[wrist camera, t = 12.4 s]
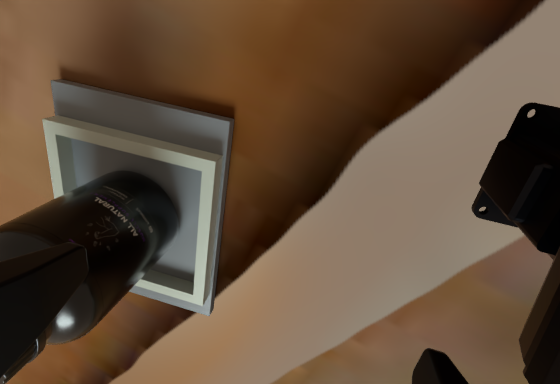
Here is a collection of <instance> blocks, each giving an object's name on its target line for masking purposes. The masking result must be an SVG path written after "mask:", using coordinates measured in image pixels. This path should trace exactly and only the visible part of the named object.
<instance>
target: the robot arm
mask: <svg viewBox="0 0 560 384" xmlns="http://www.w3.org/2000/svg"><path fill="white" fill-rule="evenodd" d="M532 109H535V111H536V112H535V115H534V116H532V117H530V118H528V117H527V114H528V112H529V111H530V110H532ZM479 184H480V186H481V189H480V191H479V193H478V195H477V197H476V199H475V201H474V203H473V205H472V211H473V213H474V214H475V215H476V217H478V218H481V219H485V220H489V221H494V222H498V223H502V224H506V225H510V226H514V227H518V228H519V229H520V230H521V231H522V232H523V233H524V234H525V236H526V237H527V238H528V239H529V240H530V241H531V242H532V244H533V245H534V246H535V247H536V248H537V249H538V250H539V251H541V252H544V253H548V254H549V255H550V257H551V258H552V259H553V263H552V265H551V267H550V269H549V272H548V274H547V276H546V278H545V281H544V283H543V285H542V287H541V290H540V292H539V294H538V296H537V299H536V301H535V303H534V305H533V307H532V310H531V312H530V314H529V316H528V319H527V321H526V323H525V325H524V328H523V331H522V333H521V336H520V338H519V343H520V347H521V352H522V357H523V361H524V363H525V365H526V366H525V368H524V370H523V374H524V376H525V378H526V379H527V381H528V383H529V384H560V108H558V107H553V106H548V105H543V104H538V103H528V104H525V105H524V106H523V107H521V109H520V110H519V112H518V114H517V116H516V118H515V120H514V122H513V124H512V126H511V128H510V130H509V132H508V134H507V136H506V138H505V139H503V140H501V141H500V142H499V143H498V145H497V147H496V149H495V151H494V153H493V155H492V157H491V160H490V161H489V164H488V166H487V168H486V170H485V172H484V174H483V176H482V178H481V180H480V182H479ZM481 207H486V209H485V210H484V211H479V209H480V208H481ZM87 273H88V262H87V253H86V249H85V247H84V246H82V245H79V244H76V243H72V242H67V243H64V244H60V245H57V246H53V247H50V248H46V249H43V250H40V251H36V252H33V253H29V254H26V255H22V256H19V257H15V258H12V259H9V260H5V261H2V262H0V378H1V377H2V376H3V375H4V374H5V373H6V372H7V371H8V370H9V369H10V367H11V366H12V365H13V364H14V363H15V362H16V361H17V360H18V359H19V358H20V357H21V356H22V354H23V353H24V352H25V351H26V350H27V349H28V348H29V347H30V346H31V345H32V344H33V343H34V341H35V340H36V339H37V338H38V337H39V336H40V335H41V334H42V333H43V332H44V330H45V329H46V328H47V327H48V326H49V324H50V323H51V322H52V321H53V320H54V318H55V317H56V316H57V314H58V313H59V312H60V311H61V309H62V308H63V307H64V305H65V304H66V303H67V301H68V300H69V299H70V298H71V296H72V295H73V294H74V292H75V291H76V290H77V289H78V287H79V286H80V285H81V283H82V282H83V281H84V279H85V278H86V276H87ZM412 384H469V383H468V382H467V381H466V379H465V378H464V377H463V376H462V374H461V373H460V372H459V370H458V369H457V368H456V366H455V365H454V364H453V362H452V361H451V360H450V358H449V357H448V356H447V355H446V354H445V353H443V352H441V351H437V350H434V349H431V348H427V349H425V350H424V352H423V353H422V355H421V357H420V359H419V361H418V363H417V364H416V366H415V368H414V371H413V375H412Z"/></svg>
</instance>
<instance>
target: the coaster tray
mask: <svg viewBox="0 0 560 384" xmlns="http://www.w3.org/2000/svg"><path fill="white" fill-rule="evenodd" d="M51 87H52V94H53V101H54V109H55V116H53V117H49V118H45V119H42V120H43V126H44V133H45V139H46V146H47V153H48V159H49V166H50V172H51V179H52V186H53V192H54V199H55V198H57V197H59V196H61V195H64V194H66V193H68V192H70V191H72V190H74V189H76V188H78V187H80V186H82V185H84V184H86V183H88V182H90V181H92V180H94V179H96V178H98V177H100V176H103V175H105V174H107V173H110V172H113V171H120V170H126V171H133V172H137V173H140V174H142V175H144V176H146V177H148V178H150V179H152V180H153V181H155V182H156V183H157V184H158V185H159V186H161V187H162V188H163V190H164V191H165V192H166V193H167V194H168V196H169V197H170V199H171V200H172V202H173V204H174V206H175V209H176V212H177V215H178V223H179V224H178V234H177V237H176V239H175V241H174V243H173V245H172V246H171V247H170V249H169V250H168V251H167V252H166V253H165V254H164V255H163V256H162V257H161V258H160V259H159V260H158V261H157V262H156V264H155V265H154V266H153V267H152V268H151V269H150V270H149V271H148V272H147V273H146V274H145V275H144V276H143V277H142V278H141V279H140V280H139V281H138V282H137V283H136V284H135V285H134V286H133V287H132V289H131V290H130V292H133V293H136V294H139V295H142V296H146V297H149V298H152V299H155V300H159V301H162V302H165V303H168V304H172V305H175V306H178V307H181V308H185V309H188V310H191V311H194V312H198V313H201V314H204V315H208V316H210V314H211V312H212V311H213V308H214V299H215V290H216V280H217V271H218V262H219V253H220V244H221V235H222V226H223V217H224V208H225V199H226V190H227V181H228V172H229V163H230V154H231V145H232V135H233V126H234V119H232V118H228V117H223V116H219V115H215V114H210V113H206V112H202V111H197V110H193V109H189V108H184V107H180V106H175V105H171V104H167V103H162V102H158V101H154V100H149V99H145V98H141V97H136V96H132V95H128V94H123V93H119V92H115V91H110V90H106V89H102V88H97V87H93V86H89V85H84V84H80V83H76V82H71V81H67V80H62V79H58V80H51Z"/></svg>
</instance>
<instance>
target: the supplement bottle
mask: <svg viewBox="0 0 560 384" xmlns="http://www.w3.org/2000/svg"><path fill="white" fill-rule="evenodd" d="M178 224H179V223H178V215H177V212H176V209H175V206H174V204H173V202H172V200H171V199H170V197H169V196H168V194H167V193H166V192H165V191H164V190H163V188H162V187H161V186H159V185H158V184H157V183H156V182H155V181H153V180H152V179H150V178H148V177H146V176H144V175H142V174H140V173H137V172H133V171H126V170H120V171H113V172H110V173H107V174H105V175H103V176H100V177H98V178H96V179H94V180H92V181H90V182H88V183H86V184H84V185H82V186H80V187H78V188H76V189H74V190H72V191H70V192H68V193H66V194H64V195H61V196H59V197H57V198H55V199H53V200H51V201H49V202H47V203H45V204H43V205H41V206H39V207H37V208H35V209H33V210H31V211H29V212H27V213H25V214H23V215H21V216H19V217H17V218H15V219H13V220H11V221H9V222H7V223H5V224H3V225H1V226H0V262H2V261H5V260H9V259H12V258H15V257H19V256H22V255H26V254H29V253H33V252H36V251H40V250H43V249H46V248H50V247H53V246H57V245H60V244H64V243H67V242H72V243H76V244H79V245H82V246H84V247H85V249H86V253H87V262H88V273H87V276H86V278H85V279H84V281H83V282H82V283H81V285H80V286H79V287H78V289H77V290H76V291H75V292H74V294H73V295H72V296H71V298H70V299H69V300H68V301H67V303H66V304H65V305H64V307H63V308H62V309H61V311H60V312H59V313H58V314H57V316H56V317H55V318H54V320H53V321H52V322H51V323H50V324H49V326H48V327H47V328H46V329H45V330H44V332H43V333H42V334H41V335H40V336H39V337H38V338H37V339H36V340H35V341H34V343H33V344H32V345H31V346H30V347H29V348H28V349H27V350H26V351H25V352H24V353H23V354H22V356H21V357H20V358H19V359H18V360H17V361H16V362H15V363H14V364H13V365H12V366H11V367H10V369H9V370H8V371H7V372H6V373H5V374H4V375H3V376H2V377H1V378H0V384H6V383H7V382H8V381H9V380H10V379H11V378H12V377H13V376H14V375H15V374H16V373H17V372H18V371H19V370H21V369H22V368H23V367H24V366H25V365H26V364H27V363H29V362H31V361H33V360H34V359H35V358H36V357H37V356H38V355H39V354H40V353H41V352H42V351H43V349H44V348H45V345H46V344H48V345H55V344H63V343H68V342H71V341H74V340H76V339H79V338H81V337H82V336H84V335H86V334H87V333H88V332H90V331H91V330H92V329H93V328H94V327H95V326H96V325H97V324H98V323H99V322H100V321H101V320H102V319H103V318H104V317H105V316H106V315H107V314H108V312H109V311H110V310H111V309H112V308H113V307H114V306H115V305H116V304H117V303H118V302H119V301H120V300H121V299H122V298H123V297H124V296H125V295H126V294H127V293H128V292H129V291H130V290H131V289H132V287H133V286H134V285H135V284H136V283H137V282H138V281H139V280H140V279H141V278H142V277H143V276H144V275H145V274H146V273H147V272H148V271H149V270H150V269H151V268H152V267H153V266H154V265H155V264H156V262H157V261H158V260H159V259H160V258H161V257H162V256H163V255H164V254H165V253H166V252H167V251H168V250H169V249H170V247H171V246H172V245H173V243H174V241H175V239H176V237H177V234H178Z"/></svg>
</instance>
